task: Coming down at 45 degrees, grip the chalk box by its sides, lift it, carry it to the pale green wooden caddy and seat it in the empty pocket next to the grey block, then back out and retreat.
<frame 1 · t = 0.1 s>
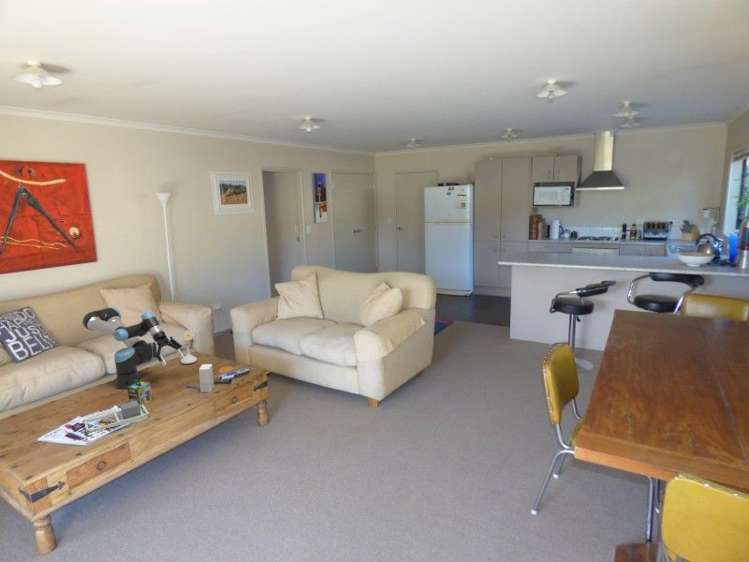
hand: (174, 361, 294), 15 cm above the table, tool tilted 35°, fingers open, 13 cm apart
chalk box: (141, 403, 270), on the table
flower in vase: (190, 362, 335), on the table
caddy: (117, 422, 248), on the table
grey block: (131, 416, 252), point 1 cm above the table, touching caddy
skincare box: (207, 390, 287), on the table
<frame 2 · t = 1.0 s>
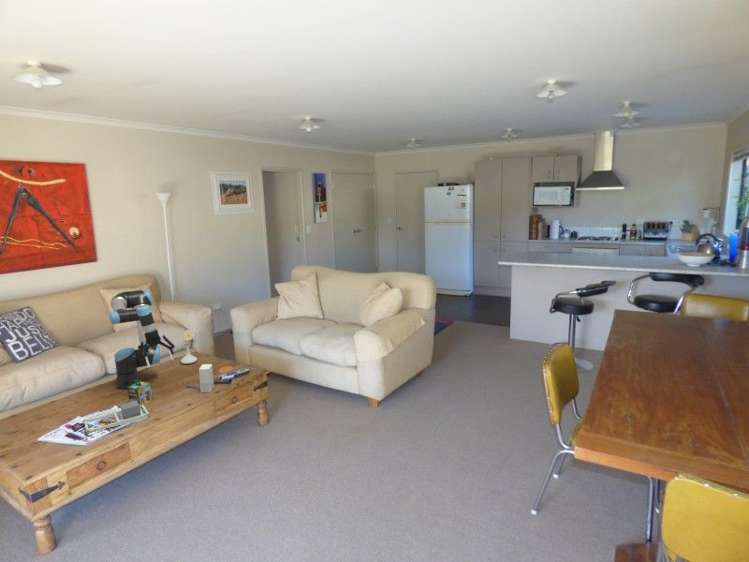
hand: (161, 363, 282), 19 cm above the table, tool pointing down, fingers open, 13 cm apart
nothing on the table moved.
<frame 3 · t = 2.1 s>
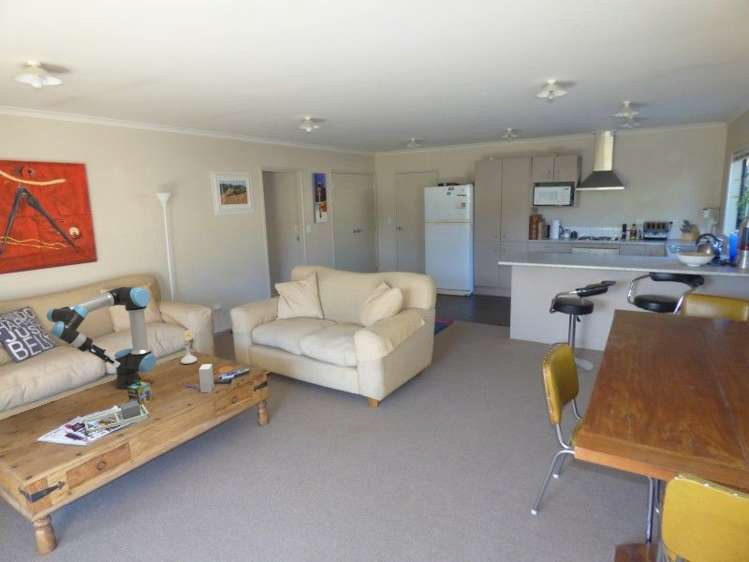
hand: (116, 362, 259), 28 cm above the table, tool tilted 45°, fingers open, 13 cm apart
nothing on the table moved.
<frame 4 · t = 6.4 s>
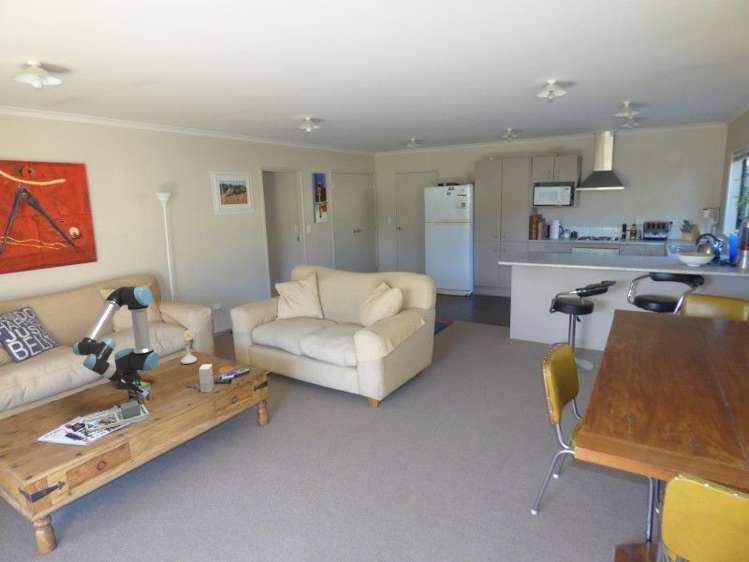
hand: (144, 390, 271), 7 cm above the table, tool tilted 45°, fingers closed on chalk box, 12 cm apart
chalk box: (141, 403, 270), on the table, touching gripper
everything else where it was.
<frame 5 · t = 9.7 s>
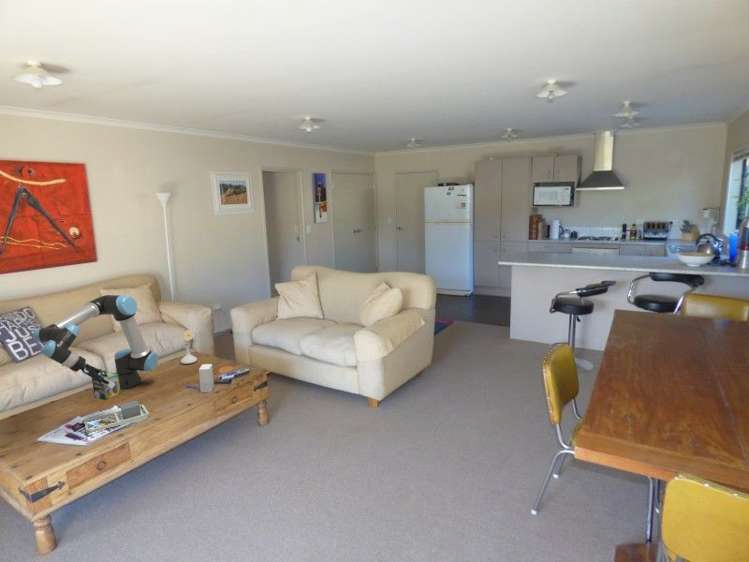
hand: (111, 382, 247), 21 cm above the table, tool tilted 45°, fingers closed on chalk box, 12 cm apart
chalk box: (107, 396, 246), point 14 cm above the table, touching gripper
everything else where it was.
when the fingers open (9 cm above the table, at t = 12.8 s): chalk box drops 1 cm, resting on caddy.
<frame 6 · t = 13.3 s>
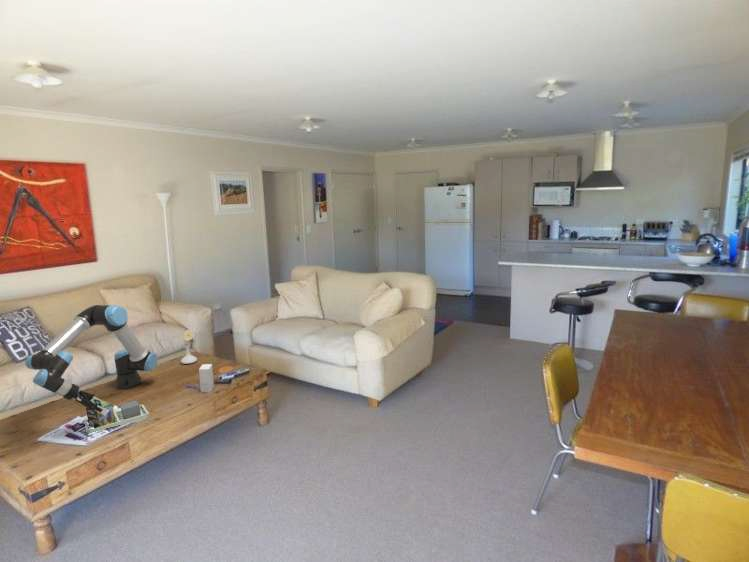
hand: (105, 408, 244), 9 cm above the table, tool tilted 45°, fingers open, 13 cm apart
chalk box: (102, 425, 244), point 1 cm above the table, touching caddy
everything else where it was.
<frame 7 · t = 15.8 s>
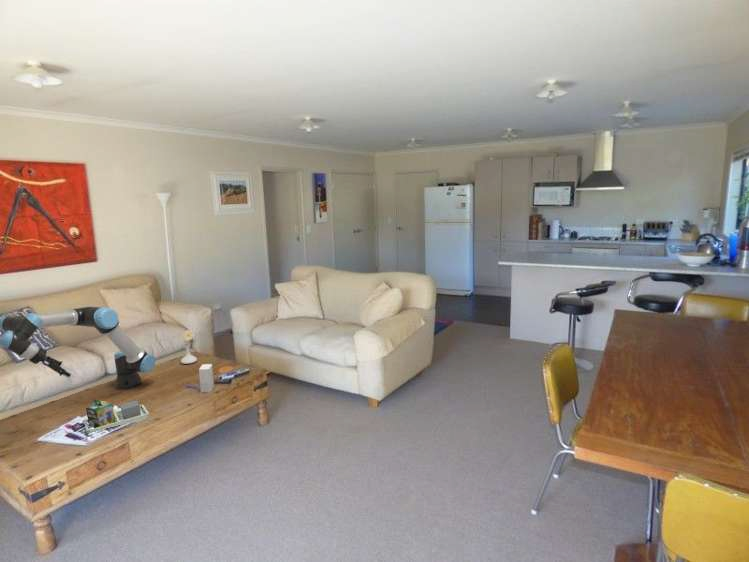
hand: (73, 375, 237), 29 cm above the table, tool tilted 45°, fingers open, 13 cm apart
nothing on the table moved.
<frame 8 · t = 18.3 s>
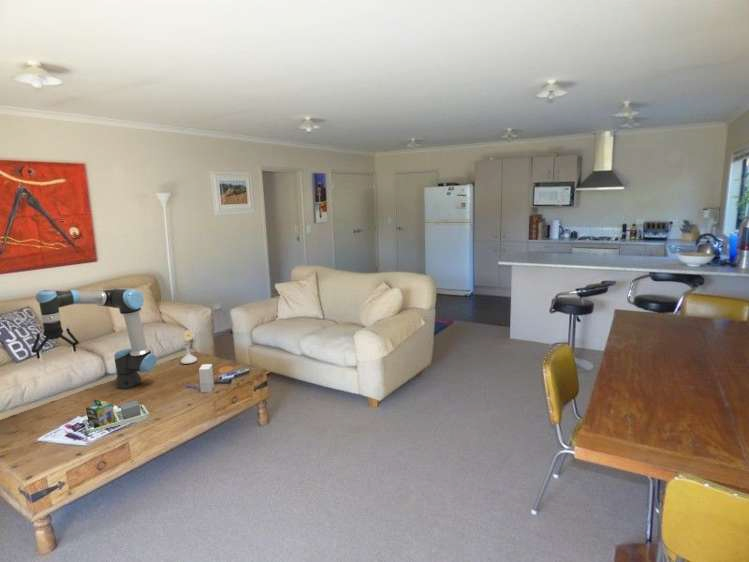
hand: (58, 360, 238), 37 cm above the table, tool pointing down, fingers open, 13 cm apart
nothing on the table moved.
at the end: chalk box inside the target area (0.2 cm from its centre), point 0.6 cm above the table; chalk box tilted 0°; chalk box touching caddy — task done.
